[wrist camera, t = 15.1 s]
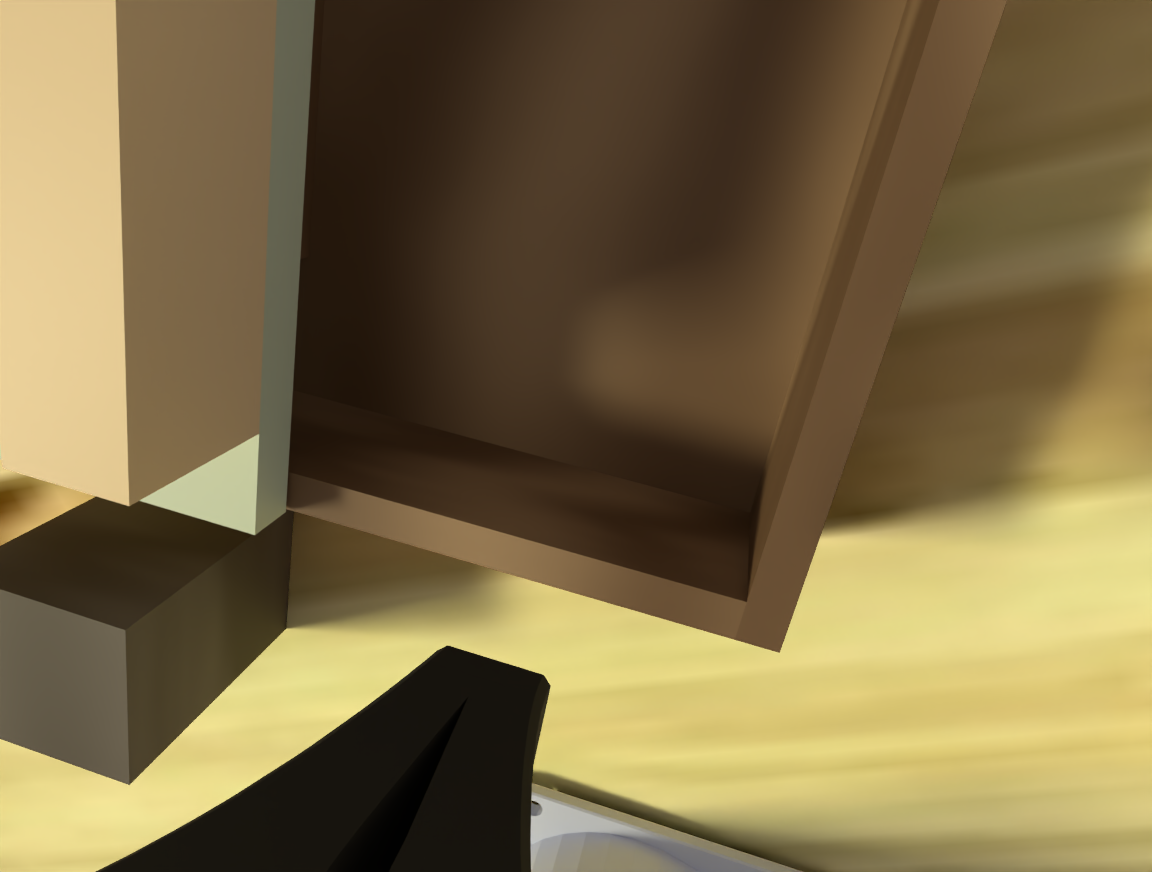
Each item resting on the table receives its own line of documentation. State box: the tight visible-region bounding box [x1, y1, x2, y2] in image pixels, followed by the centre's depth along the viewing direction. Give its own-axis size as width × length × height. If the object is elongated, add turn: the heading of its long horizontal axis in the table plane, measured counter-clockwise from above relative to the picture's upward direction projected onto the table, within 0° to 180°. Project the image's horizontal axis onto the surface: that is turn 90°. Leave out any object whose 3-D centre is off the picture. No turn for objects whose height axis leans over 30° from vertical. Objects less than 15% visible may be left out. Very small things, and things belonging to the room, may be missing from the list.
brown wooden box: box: [286, 0, 1007, 653], centre depth 15 cm, size 18×14×4 cm
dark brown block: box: [0, 497, 294, 785], centre depth 19 cm, size 4×4×6 cm
